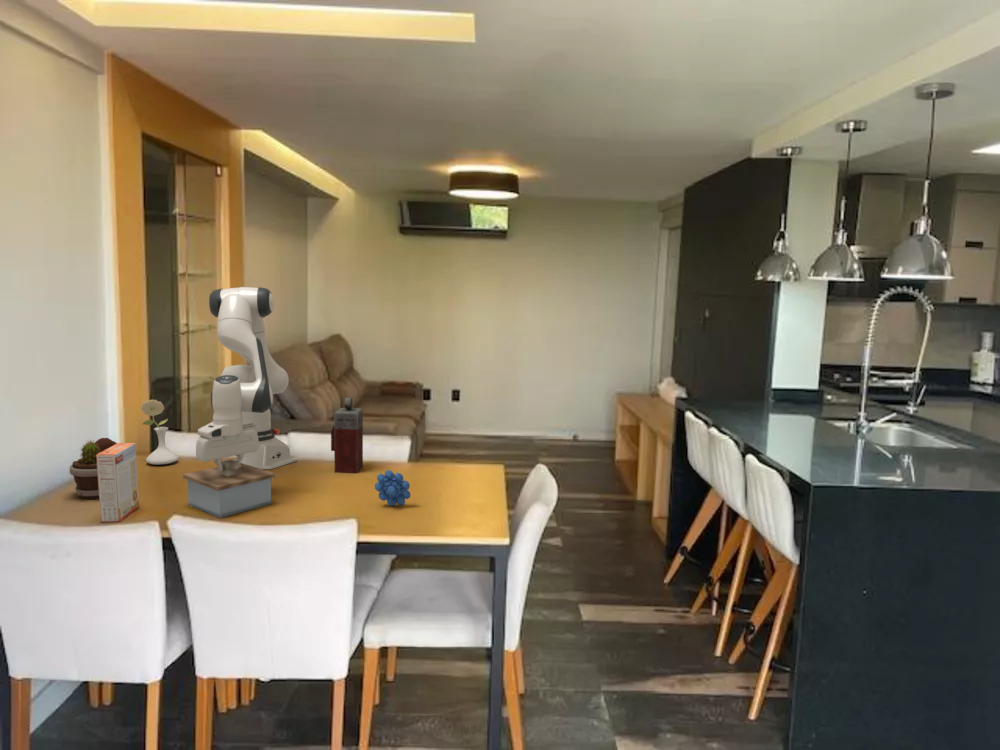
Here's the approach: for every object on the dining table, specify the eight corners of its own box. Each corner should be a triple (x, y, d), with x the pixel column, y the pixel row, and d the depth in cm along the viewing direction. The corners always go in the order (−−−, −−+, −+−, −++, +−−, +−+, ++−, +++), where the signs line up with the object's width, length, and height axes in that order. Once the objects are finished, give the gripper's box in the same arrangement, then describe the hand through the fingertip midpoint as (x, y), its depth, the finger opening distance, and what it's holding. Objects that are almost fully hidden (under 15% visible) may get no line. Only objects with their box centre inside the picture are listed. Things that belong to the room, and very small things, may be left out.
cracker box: (120, 507, 221) (116, 442, 218) (140, 507, 222) (137, 442, 219) (98, 522, 207) (95, 453, 204) (120, 522, 208) (116, 453, 205)
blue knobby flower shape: (372, 510, 225) (372, 473, 223) (375, 503, 232) (375, 467, 230) (409, 510, 225) (409, 474, 224) (411, 503, 232) (411, 468, 230)
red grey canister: (334, 466, 275) (333, 395, 271) (362, 466, 275) (362, 396, 271) (328, 472, 266) (327, 399, 262) (357, 473, 266) (357, 400, 262)
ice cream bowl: (122, 482, 247) (120, 440, 245) (87, 483, 244) (84, 441, 242) (130, 473, 257) (128, 433, 255) (96, 474, 255) (94, 434, 253)
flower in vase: (183, 459, 278) (181, 397, 275) (171, 467, 267) (169, 402, 264) (149, 459, 278) (146, 396, 274) (136, 466, 266) (133, 401, 263)
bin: (239, 492, 239) (238, 466, 237) (271, 504, 228) (270, 477, 227) (188, 505, 225) (187, 478, 223) (220, 518, 214) (219, 489, 213)
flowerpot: (84, 488, 239) (81, 430, 237) (130, 488, 240) (128, 431, 238) (60, 501, 225) (56, 440, 222) (110, 501, 226) (106, 441, 223)
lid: (239, 465, 239) (239, 450, 238) (275, 477, 227) (274, 461, 226) (183, 478, 223) (182, 462, 222) (218, 490, 211) (217, 474, 210)
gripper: (251, 421, 233) (252, 461, 235) (192, 430, 217) (194, 474, 219) (262, 423, 229) (263, 465, 231) (203, 433, 213) (205, 478, 215)
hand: (229, 469), depth 225 cm, fingers closed on lid, 4 cm apart
